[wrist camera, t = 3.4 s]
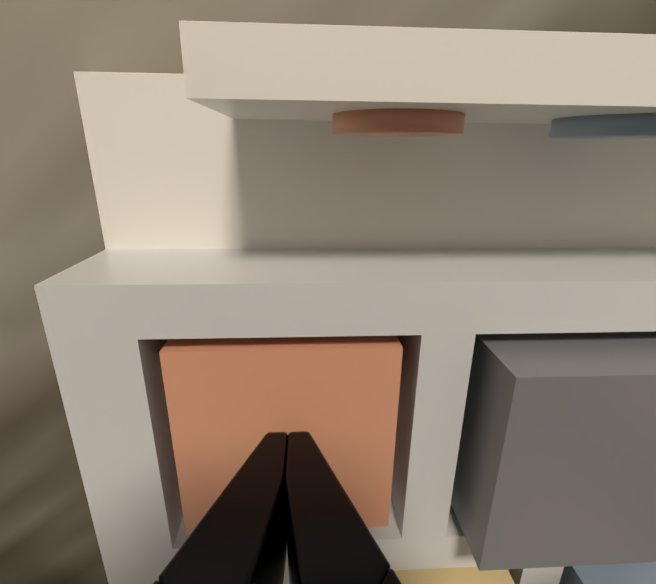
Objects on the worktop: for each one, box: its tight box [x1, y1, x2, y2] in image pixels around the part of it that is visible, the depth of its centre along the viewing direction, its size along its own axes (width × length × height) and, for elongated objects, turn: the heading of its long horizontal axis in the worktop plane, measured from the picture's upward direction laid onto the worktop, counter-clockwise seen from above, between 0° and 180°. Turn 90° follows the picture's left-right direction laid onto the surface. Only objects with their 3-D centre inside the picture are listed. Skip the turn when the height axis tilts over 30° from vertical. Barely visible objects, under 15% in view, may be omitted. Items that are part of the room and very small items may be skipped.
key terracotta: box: [159, 336, 403, 535], centre depth 9 cm, size 4×4×2 cm
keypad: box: [34, 21, 656, 584], centre depth 10 cm, size 16×20×4 cm
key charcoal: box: [451, 331, 656, 571], centre depth 8 cm, size 4×4×2 cm
